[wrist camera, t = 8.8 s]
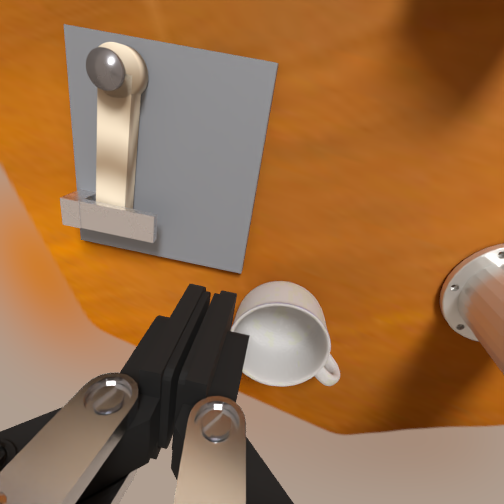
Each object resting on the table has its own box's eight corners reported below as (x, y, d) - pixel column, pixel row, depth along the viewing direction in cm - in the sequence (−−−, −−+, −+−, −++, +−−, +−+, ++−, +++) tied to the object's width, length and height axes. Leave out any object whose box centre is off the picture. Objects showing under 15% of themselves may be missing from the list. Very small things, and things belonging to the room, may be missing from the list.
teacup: (222, 298, 42) (207, 340, 34) (288, 251, 37) (286, 288, 30) (290, 366, 45) (289, 416, 38) (357, 329, 41) (370, 378, 34)
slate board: (278, 64, 29) (277, 62, 29) (242, 269, 39) (241, 273, 38) (70, 26, 30) (63, 24, 29) (85, 236, 40) (81, 239, 39)
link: (104, 39, 29) (78, 32, 26) (150, 52, 29) (130, 45, 26) (100, 220, 38) (80, 232, 34) (136, 230, 37) (120, 243, 34)
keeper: (169, 203, 37) (153, 217, 33) (168, 227, 38) (152, 243, 34) (86, 186, 37) (59, 197, 33) (88, 210, 39) (62, 224, 34)
